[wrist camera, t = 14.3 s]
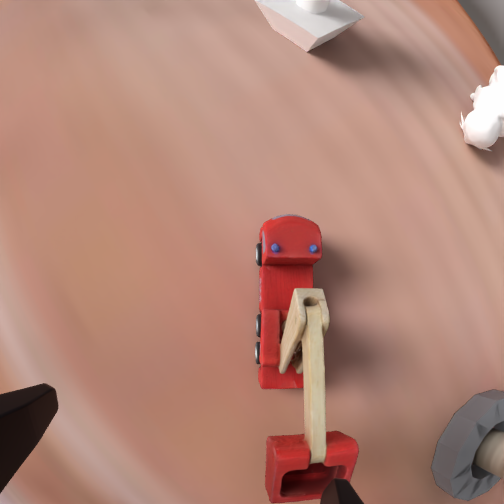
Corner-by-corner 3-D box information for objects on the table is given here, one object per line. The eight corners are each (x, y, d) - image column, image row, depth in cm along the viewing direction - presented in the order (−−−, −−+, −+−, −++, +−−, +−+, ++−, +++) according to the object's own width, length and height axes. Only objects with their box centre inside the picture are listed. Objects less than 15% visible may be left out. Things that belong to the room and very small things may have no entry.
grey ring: (468, 493, 18) (485, 504, 15) (412, 477, 18) (430, 491, 15) (518, 408, 19) (537, 413, 16) (474, 375, 20) (497, 379, 17)
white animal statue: (551, 95, 17) (529, 144, 16) (510, 125, 25) (475, 175, 24) (514, 48, 17) (481, 82, 16) (477, 85, 25) (436, 126, 25)
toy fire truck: (305, 227, 21) (360, 167, 11) (302, 428, 19) (351, 503, 9) (255, 226, 21) (275, 160, 11) (252, 430, 18) (269, 513, 9)
